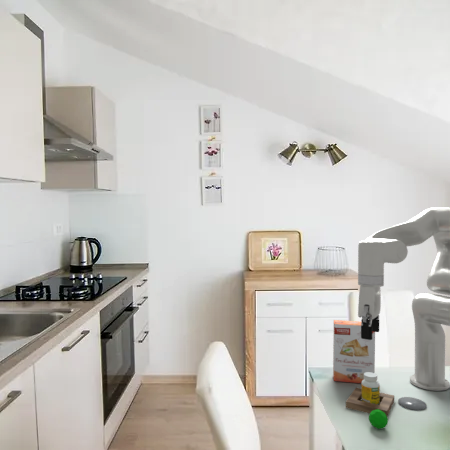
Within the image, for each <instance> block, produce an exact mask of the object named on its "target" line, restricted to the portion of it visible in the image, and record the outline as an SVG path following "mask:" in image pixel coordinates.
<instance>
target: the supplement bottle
mask: <svg viewBox="0 0 450 450" xmlns="http://www.w3.org/2000/svg"><path fill="white" fill-rule="evenodd" d="M380 387H381V386H380V382H379V381H378V374H377V373H371V372H366V373H364V380H362V383H361V389H362V399H361V401H363V402H368V403H372V404H377V405H380V403H381V402H380V393H381V390H380Z"/></svg>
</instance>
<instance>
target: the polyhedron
mask: <svg viewBox="0 0 450 450" xmlns="http://www.w3.org/2000/svg"><path fill="white" fill-rule="evenodd" d="M368 414H369V413H368ZM368 421H369V423H370V426H372V427H374V428H376V429H377V430H381V429H385V428H386V427H387V426H388V424H389V418H388V417H387V416H386V414H385V413H384V412H383V411H381V410H379V409H377V410H373V411H372V412H371V413H370V414H369V415H368Z"/></svg>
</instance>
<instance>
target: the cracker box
mask: <svg viewBox="0 0 450 450" xmlns="http://www.w3.org/2000/svg"><path fill="white" fill-rule="evenodd" d="M361 322H362V321H354V320H340V319H338V320H337V319H333V343H332V345H333V347H332V348H333V350H332V351H333V359H332V360H333V361H332V365H333V367H332V376H333V381H334V382H343V383H344V382H345V383H352V384H353V383H354V384H362V380H364V373H366V372H371V373H375V367H376V365H375V363H376V361H375V360H376V332H373V331H372V340H367V339H362V338H361ZM375 374H376V373H375Z"/></svg>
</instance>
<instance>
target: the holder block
mask: <svg viewBox="0 0 450 450" xmlns="http://www.w3.org/2000/svg"><path fill="white" fill-rule="evenodd" d="M394 403H395V394H394V395H393V394H390V393H389V394H388V393H384V392H380V403H379V405H377V404H372V403H368V402H363V401H362V387H361V388H360V387H355V388H354V389H353V391H352V392H351V393H350V395H349V396H348V397H347V399H346V401H345V408H346V409H350V410H353V411H358V412H362V413H366V414H370V413H371V412H372V411H373V410H377V409H379V410H381V411H383V412H384V413H385V414H386V416H387V418H388V416H389V414H390V412H391V410H392V408H393V405H394Z"/></svg>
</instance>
